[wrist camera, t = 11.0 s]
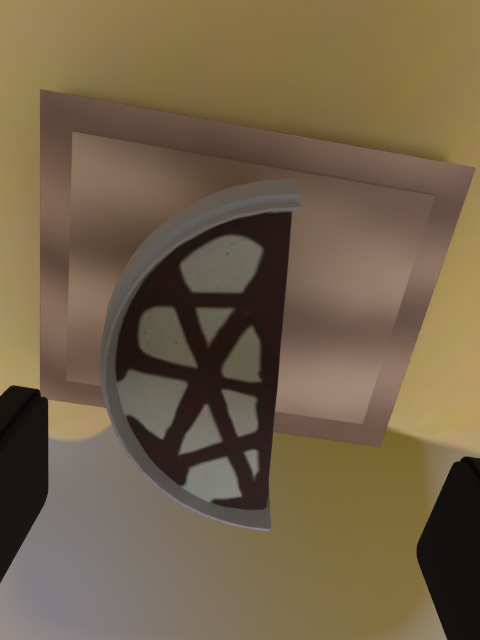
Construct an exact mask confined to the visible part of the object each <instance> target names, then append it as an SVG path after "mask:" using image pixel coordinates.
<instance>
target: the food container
mask: <svg viewBox="0 0 480 640" xmlns="http://www.w3.org/2000/svg"><path fill="white" fill-rule="evenodd" d="M299 199H300V192H299V189H298V185H297V182H296V179H280V180H263V181H258V182H253V183H248V184H243V185H238V186H233V187H230V188H227V189H225V190H222V191H219V192H217V193H214V194H211V195H209V196H206V197H203V198H201V199H200V200H198V201H196V202H194V203H193V204H191V205H189V206H187V207H186V208H184V209H182V210H180V211H179V212H177V213H175V214H174V215H173V216H172V217H170V218H169V219H168V220H167V221H165V222H164V223H163V224H162V225H161V226H159V227H158V228H157V229H156V230H155V231H153V232H152V233H151V234H150V235H149V236H148V238H147V239H146V240H145V241H144V242H143V243H142V245H141V246H140V247H139V248H138V249H137V250H136V251H135V253H134V254H133V255H132V257H131V258H130V260H129V262H128V263H127V265H126V267H125V268H124V270H123V272H122V273H121V275H120V277H119V278H118V280H117V283H116V285H115V288H114V291H113V293H112V296H111V298H110V301H109V304H108V308H107V313H106V319H105V324H104V329H103V335H102V340H101V346H100V379H101V385H102V391H103V397H104V401H105V404H106V407H107V411H108V414H109V417H110V420H111V422H112V425H113V428H114V431H115V433H116V435H117V437H118V439H119V441H120V443H121V444H122V446H123V448H124V450H125V452H126V453H127V455H128V456H129V458H130V459H131V460H132V461H133V463H134V464H135V465H136V466H137V468H138V469H139V470H140V471H141V473H142V474H143V475H144V476H145V477H146V478H147V479H149V480H150V481H151V482H152V483H153V484H154V485H155V486H156V487H157V488H158V489H159V490H160V491H162V492H163V493H165V494H166V495H167V496H169V497H170V498H172V499H173V500H175V501H176V502H178V503H179V504H181V505H183V506H185V507H187V508H188V509H190V510H192V511H194V512H196V513H198V514H200V515H202V516H205V517H208V518H211V519H214V520H216V521H219V522H222V523H225V524H229V525H234V526H239V527H243V528H247V529H256V530H266V531H271V518H270V499H269V469H270V459H271V449H272V436H273V426H274V416H275V407H276V398H277V388H278V376H279V363H280V349H281V337H282V326H283V316H284V305H285V294H286V282H287V271H288V260H289V247H290V234H291V221H292V211H291V210H302V206H301V204H300V203H299Z"/></svg>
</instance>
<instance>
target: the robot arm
mask: <svg viewBox="0 0 480 640" xmlns="http://www.w3.org/2000/svg"><path fill="white" fill-rule="evenodd" d="M47 494H48V399H47V398H46V397H41V393H40V390H38V389H33V388H27V387H20V386H10V387H9V388H8V389H7V390H6V391H5V392H4V393H3V394H2V395H1V396H0V583H1V581H2V579H3V577H4V575H5V573H6V572H7V570H8V568H9V566H10V565H11V563H12V561H13V559H14V558H15V556H16V554H17V552H18V550H19V548H20V547H21V545H22V543H23V541H24V540H25V538H26V536H27V534H28V533H29V531H30V529H31V527H32V525H33V524H34V522H35V520H36V518H37V516H38V514H39V513H40V511H41V509H42V507H43V506H44V503H45V501H46V498H47ZM417 559H418V563H419V565H420V568H421V571H422V573H423V576H424V579H425V581H426V584H427V586H428V589H429V592H430V595H431V597H432V600H433V603H434V605H435V608H436V611H437V614H438V616H439V619H440V621H441V624H442V627H443V629H444V632H445V635H446V637H447V640H480V458H474V457H463V458H462V459H461V460H460V462H455V463H454V464H453V466H452V467H451V470H450V472H449V474H448V476H447V478H446V481H445V483H444V485H443V487H442V490H441V492H440V494H439V496H438V499H437V501H436V503H435V506H434V508H433V510H432V512H431V515H430V517H429V519H428V521H427V523H426V526H425V528H424V530H423V533H422V535H421V537H420V539H419V542H418V544H417Z"/></svg>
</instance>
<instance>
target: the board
mask: <svg viewBox="0 0 480 640" xmlns="http://www.w3.org/2000/svg"><path fill="white" fill-rule="evenodd" d="M474 171H475V168H474V167H469V166H463V165H458V164H452V163H447V162H441V161H435V160H430V159H424V158H419V157H413V156H408V155H402V154H397V153H391V152H386V151H380V150H374V149H369V148H363V147H358V146H352V145H347V144H341V143H336V142H330V141H324V140H319V139H313V138H308V137H302V136H297V135H291V134H286V133H280V132H275V131H269V130H263V129H258V128H252V127H247V126H241V125H236V124H230V123H225V122H219V121H213V120H208V119H202V118H197V117H191V116H186V115H180V114H175V113H169V112H164V111H158V110H152V109H147V108H141V107H136V106H130V105H125V104H119V103H114V102H108V101H102V100H97V99H91V98H86V97H80V96H75V95H69V94H64V93H58V92H53V91H47V90H41V89H40V393H41V397H46V398H47V399H49V400H56V401H63V402H69V403H76V404H83V405H90V406H97V407H104V408H107V407H106V404H105V401H104V397H103V391H102V385H101V379H100V346H101V340H102V335H103V329H104V324H105V319H106V313H107V308H108V304H109V301H110V298H111V296H112V293H113V291H114V288H115V285H116V283H117V280H118V278H119V277H120V275H121V273H122V272H123V270H124V268H125V267H126V265H127V263H128V262H129V260H130V258H131V257H132V255H133V254H134V253H135V251H136V250H137V249H138V248H139V247H140V246H141V245H142V243H143V242H144V241H145V240H146V239H147V238H148V236H149V235H150V234H151V233H152V232H153V231H155V230H156V229H157V228H158V227H159V226H161V225H162V224H163V223H164V222H165V221H167V220H168V219H169V218H170V217H172V216H173V215H174V214H175V213H177V212H179V211H180V210H182V209H184V208H186V207H187V206H189V205H191V204H193V203H194V202H196V201H198V200H200V199H201V198H203V197H206V196H209V195H211V194H214V193H217V192H219V191H222V190H225V189H227V188H230V187H233V186H238V185H243V184H248V183H253V182H258V181H263V180H280V179H296V182H297V185H298V189H299V192H300V199H299V203H300V204H301V206H302V210H291V211H292V221H291V234H290V247H289V260H288V271H287V282H286V294H285V305H284V316H283V326H282V337H281V349H280V363H279V376H278V388H277V398H276V407H275V416H274V426H273V432H277V433H285V434H291V435H298V436H305V437H312V438H319V439H326V440H333V441H339V442H346V443H354V444H360V445H367V446H374V447H380V446H381V442H382V439H383V437H384V434H385V431H386V428H387V425H388V422H389V419H390V416H391V413H392V410H393V408H394V405H395V402H396V399H397V396H398V393H399V390H400V387H401V384H402V381H403V378H404V375H405V372H406V370H407V367H408V364H409V361H410V358H411V355H412V352H413V349H414V346H415V343H416V340H417V337H418V334H419V332H420V329H421V326H422V323H423V320H424V317H425V314H426V311H427V308H428V305H429V302H430V299H431V297H432V294H433V291H434V288H435V285H436V282H437V279H438V276H439V273H440V270H441V267H442V264H443V261H444V259H445V256H446V253H447V250H448V247H449V244H450V241H451V238H452V235H453V232H454V229H455V226H456V223H457V221H458V218H459V215H460V212H461V209H462V206H463V203H464V200H465V197H466V194H467V191H468V188H469V186H470V183H471V180H472V177H473V174H474Z"/></svg>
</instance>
